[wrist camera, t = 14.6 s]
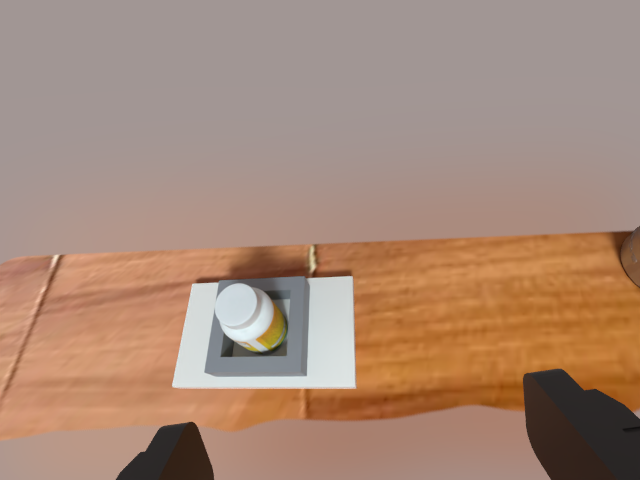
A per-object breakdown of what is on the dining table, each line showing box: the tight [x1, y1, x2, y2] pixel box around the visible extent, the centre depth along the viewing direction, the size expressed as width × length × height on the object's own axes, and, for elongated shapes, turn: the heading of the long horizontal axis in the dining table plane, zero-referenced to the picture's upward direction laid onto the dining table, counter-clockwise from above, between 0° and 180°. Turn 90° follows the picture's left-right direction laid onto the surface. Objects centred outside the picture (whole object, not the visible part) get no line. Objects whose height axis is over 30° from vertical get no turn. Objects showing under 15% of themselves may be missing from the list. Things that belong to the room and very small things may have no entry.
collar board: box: [172, 276, 356, 388], centre depth 40 cm, size 20×12×4 cm, turn 88°
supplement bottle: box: [215, 283, 288, 355], centre depth 37 cm, size 5×5×10 cm
